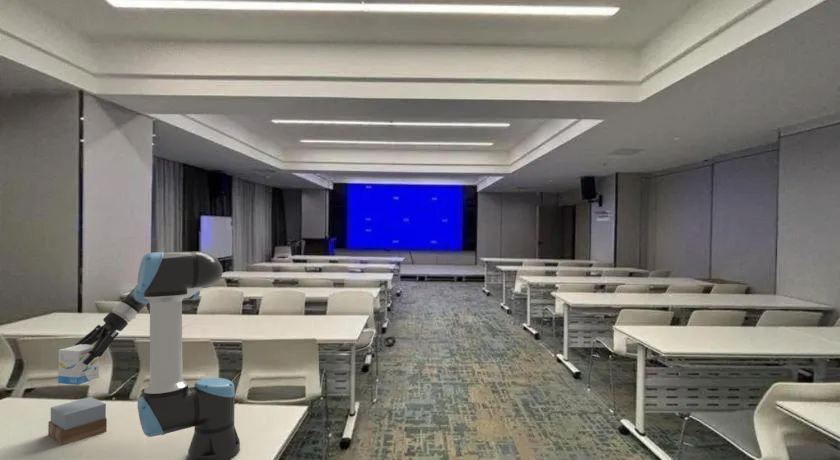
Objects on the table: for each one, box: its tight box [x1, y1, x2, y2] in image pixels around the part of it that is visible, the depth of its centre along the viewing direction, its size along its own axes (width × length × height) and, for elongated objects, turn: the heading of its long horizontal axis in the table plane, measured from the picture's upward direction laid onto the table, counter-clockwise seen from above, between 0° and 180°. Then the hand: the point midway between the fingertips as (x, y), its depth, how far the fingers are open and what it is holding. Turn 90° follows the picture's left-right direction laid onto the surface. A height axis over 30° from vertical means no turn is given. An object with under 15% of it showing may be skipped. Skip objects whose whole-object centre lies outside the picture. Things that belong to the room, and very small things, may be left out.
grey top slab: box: [50, 396, 107, 430], centre depth 158 cm, size 12×12×5 cm
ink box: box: [57, 344, 100, 386], centre depth 158 cm, size 8×8×12 cm
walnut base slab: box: [47, 417, 108, 446], centre depth 158 cm, size 13×13×5 cm
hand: (69, 369), depth 156 cm, fingers closed on ink box, 11 cm apart
